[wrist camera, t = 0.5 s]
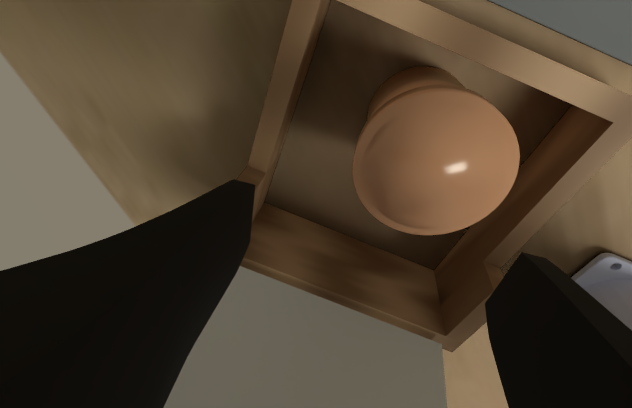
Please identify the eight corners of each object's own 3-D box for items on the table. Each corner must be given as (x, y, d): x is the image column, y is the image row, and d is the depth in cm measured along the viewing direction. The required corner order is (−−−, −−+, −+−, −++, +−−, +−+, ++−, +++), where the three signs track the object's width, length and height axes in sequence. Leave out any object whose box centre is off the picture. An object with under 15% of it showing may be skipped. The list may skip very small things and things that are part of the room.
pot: (502, 87, 15) (560, 133, 10) (436, 183, 18) (457, 254, 13) (392, 39, 15) (396, 62, 10) (344, 145, 18) (330, 202, 13)
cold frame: (612, 88, 14) (985, 244, 6) (426, 300, 23) (453, 492, 14) (319, -43, 14) (201, -108, 5) (240, 227, 22) (146, 381, 14)
